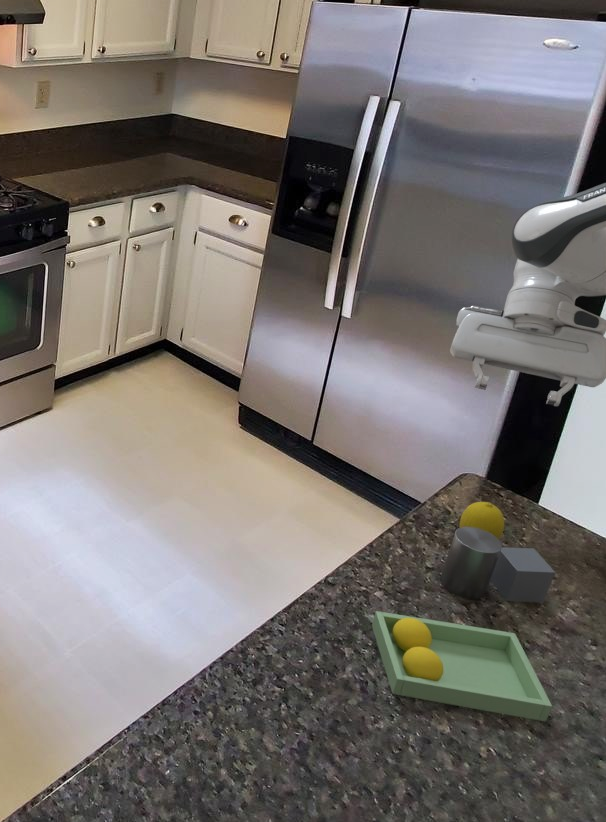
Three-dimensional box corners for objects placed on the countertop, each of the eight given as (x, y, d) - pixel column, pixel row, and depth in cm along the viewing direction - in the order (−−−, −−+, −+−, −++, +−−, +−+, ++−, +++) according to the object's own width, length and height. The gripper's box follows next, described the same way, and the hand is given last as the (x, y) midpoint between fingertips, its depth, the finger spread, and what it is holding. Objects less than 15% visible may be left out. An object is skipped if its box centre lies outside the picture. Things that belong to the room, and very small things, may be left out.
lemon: (454, 529, 127) (467, 488, 123) (495, 540, 124) (510, 499, 121) (453, 549, 123) (467, 507, 119) (496, 561, 120) (511, 518, 117)
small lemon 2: (432, 667, 101) (441, 642, 100) (443, 695, 98) (452, 669, 96) (394, 661, 102) (402, 636, 101) (403, 688, 99) (412, 662, 97)
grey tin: (476, 578, 117) (493, 529, 113) (489, 605, 112) (508, 555, 108) (434, 572, 118) (449, 523, 114) (445, 599, 113) (462, 549, 109)
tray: (508, 650, 105) (515, 633, 103) (544, 724, 94) (552, 706, 93) (370, 627, 108) (375, 610, 107) (391, 697, 98) (397, 678, 97)
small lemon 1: (421, 638, 106) (429, 613, 104) (431, 664, 102) (440, 638, 100) (385, 632, 107) (393, 607, 105) (393, 657, 103) (401, 632, 101)
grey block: (521, 580, 116) (534, 548, 114) (542, 605, 112) (555, 572, 109) (485, 579, 117) (497, 546, 114) (505, 604, 112) (517, 570, 110)
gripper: (463, 295, 130) (441, 371, 126) (621, 323, 119) (602, 407, 116) (458, 311, 135) (437, 384, 132) (609, 339, 124) (590, 420, 121)
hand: (515, 395), depth 124 cm, fingers open, 8 cm apart
